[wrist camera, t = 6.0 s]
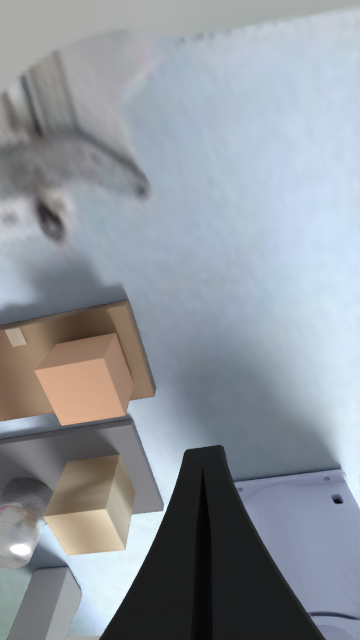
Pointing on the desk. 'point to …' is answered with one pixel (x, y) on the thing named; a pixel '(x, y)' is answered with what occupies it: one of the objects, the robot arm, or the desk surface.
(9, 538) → the grey cylinder
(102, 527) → the birch cube
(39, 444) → the mat
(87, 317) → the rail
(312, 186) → the desk surface
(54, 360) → the block
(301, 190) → the desk surface
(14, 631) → the vintage mobile phone
